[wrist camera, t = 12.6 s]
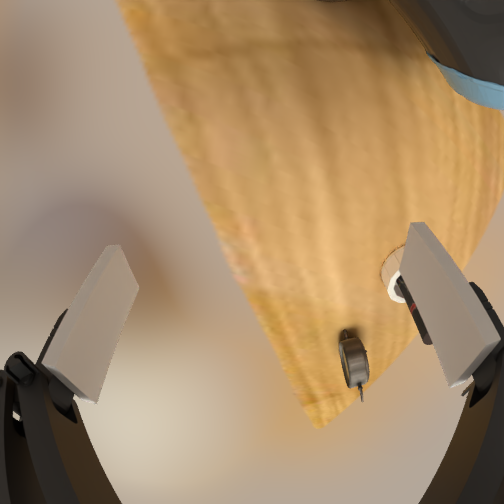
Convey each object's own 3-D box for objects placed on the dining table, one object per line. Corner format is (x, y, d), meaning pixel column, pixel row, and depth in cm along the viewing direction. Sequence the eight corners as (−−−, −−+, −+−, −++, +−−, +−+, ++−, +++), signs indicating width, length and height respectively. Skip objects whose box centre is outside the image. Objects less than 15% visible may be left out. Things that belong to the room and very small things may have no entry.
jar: (387, 245, 43) (395, 260, 40) (434, 242, 43) (445, 256, 39) (375, 289, 50) (382, 305, 46) (420, 284, 49) (427, 299, 46)
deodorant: (426, 261, 44) (461, 322, 32) (408, 284, 48) (437, 345, 36) (405, 252, 43) (441, 317, 31) (387, 277, 47) (415, 343, 35)
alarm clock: (337, 327, 57) (351, 394, 44) (361, 322, 56) (379, 388, 43) (338, 353, 63) (349, 412, 50) (359, 348, 62) (373, 407, 49)
